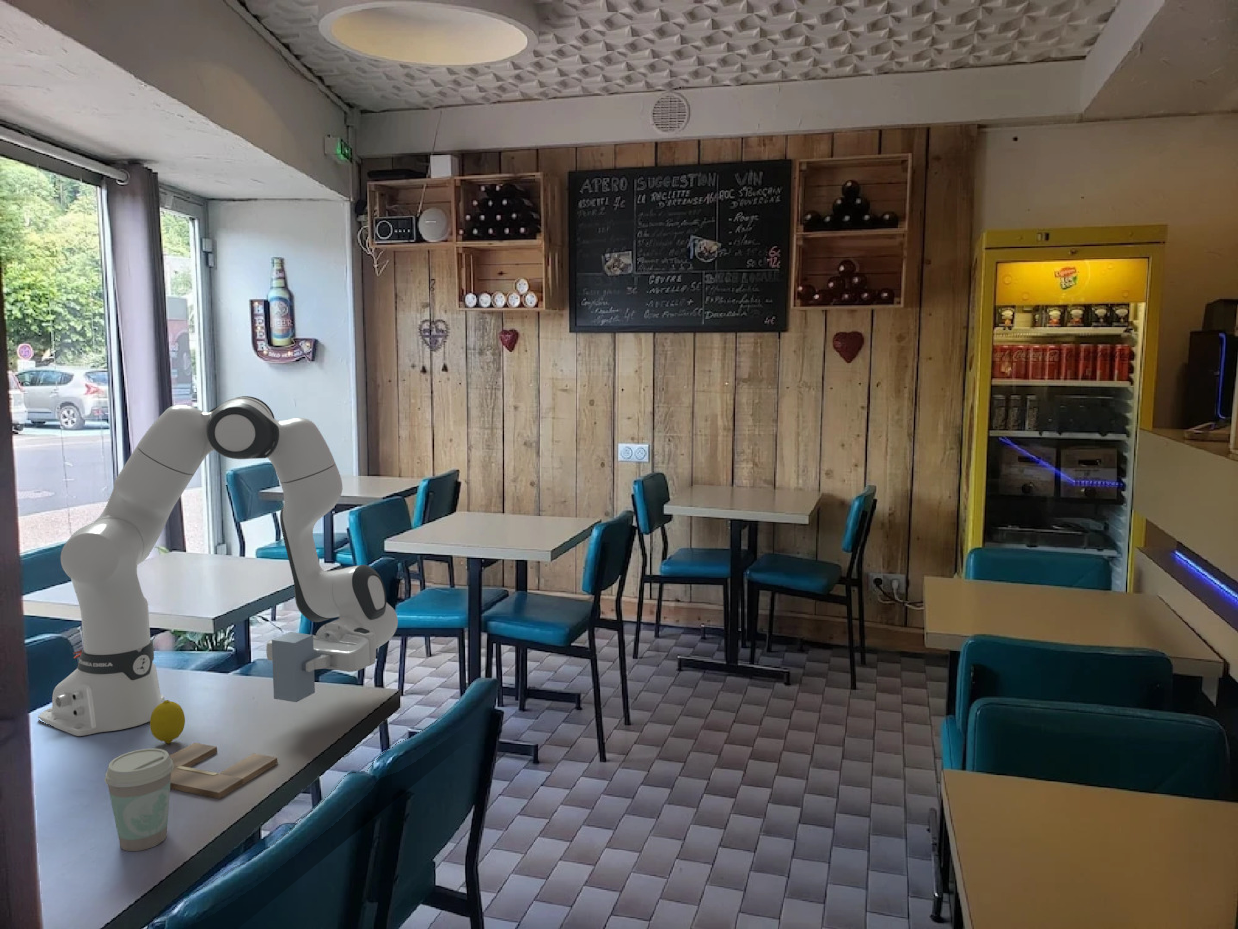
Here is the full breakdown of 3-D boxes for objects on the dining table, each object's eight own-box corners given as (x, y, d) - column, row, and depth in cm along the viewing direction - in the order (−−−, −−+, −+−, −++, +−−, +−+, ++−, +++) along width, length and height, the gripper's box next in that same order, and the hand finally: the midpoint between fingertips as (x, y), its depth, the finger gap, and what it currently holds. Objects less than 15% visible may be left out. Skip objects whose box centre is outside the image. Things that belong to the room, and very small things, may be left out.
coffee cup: (110, 864, 116) (105, 779, 115) (107, 835, 123) (102, 755, 122) (181, 845, 121) (176, 763, 120) (173, 818, 128) (169, 741, 127)
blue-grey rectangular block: (273, 698, 156) (271, 639, 155) (292, 689, 161) (290, 632, 159) (296, 702, 154) (294, 643, 153) (314, 692, 159) (313, 635, 158)
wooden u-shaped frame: (131, 780, 140) (131, 774, 140) (194, 748, 152) (194, 742, 152) (219, 798, 134) (218, 792, 134) (277, 763, 146) (277, 757, 146)
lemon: (192, 737, 156) (190, 695, 156) (173, 750, 151) (171, 707, 150) (163, 736, 157) (161, 694, 156) (144, 749, 152) (141, 705, 151)
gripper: (294, 622, 172) (243, 642, 159) (381, 633, 165) (336, 654, 152) (295, 652, 173) (244, 675, 160) (382, 664, 166) (337, 689, 153)
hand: (290, 665), depth 156 cm, fingers closed on blue-grey rectangular block, 5 cm apart
